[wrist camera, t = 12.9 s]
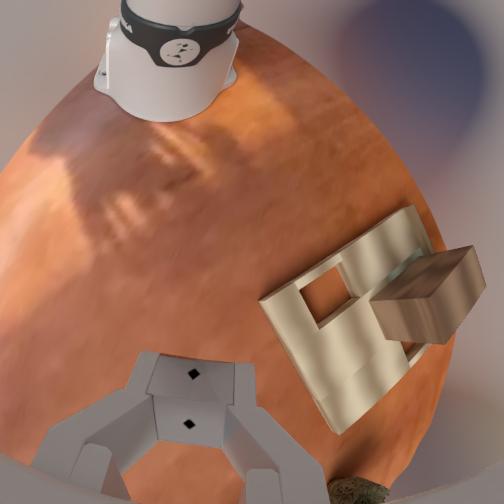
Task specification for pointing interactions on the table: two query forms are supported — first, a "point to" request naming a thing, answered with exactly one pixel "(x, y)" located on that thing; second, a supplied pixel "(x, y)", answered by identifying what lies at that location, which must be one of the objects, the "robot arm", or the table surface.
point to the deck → (351, 321)
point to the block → (430, 297)
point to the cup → (355, 491)
